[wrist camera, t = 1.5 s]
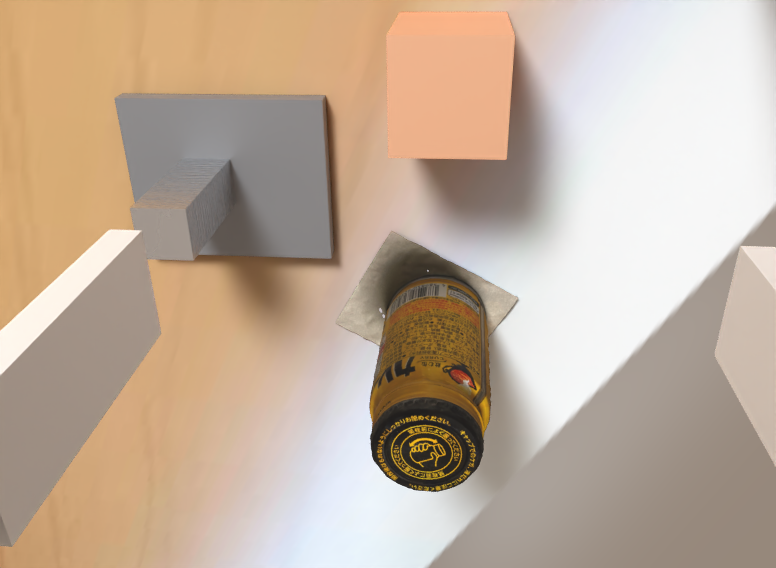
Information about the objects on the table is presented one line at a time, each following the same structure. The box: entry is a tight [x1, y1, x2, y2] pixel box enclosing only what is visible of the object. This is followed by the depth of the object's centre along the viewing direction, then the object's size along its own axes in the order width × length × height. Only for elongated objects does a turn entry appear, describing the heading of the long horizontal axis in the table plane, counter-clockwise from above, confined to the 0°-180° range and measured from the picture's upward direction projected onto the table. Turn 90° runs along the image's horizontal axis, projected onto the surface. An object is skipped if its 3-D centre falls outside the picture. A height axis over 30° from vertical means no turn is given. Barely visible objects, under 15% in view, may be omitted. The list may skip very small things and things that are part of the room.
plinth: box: [115, 94, 334, 259], centre depth 40 cm, size 9×11×1 cm
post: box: [130, 158, 235, 261], centre depth 36 cm, size 3×3×7 cm
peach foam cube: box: [386, 12, 515, 160], centre depth 33 cm, size 5×5×7 cm
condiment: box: [336, 231, 518, 492], centre depth 38 cm, size 7×8×12 cm
